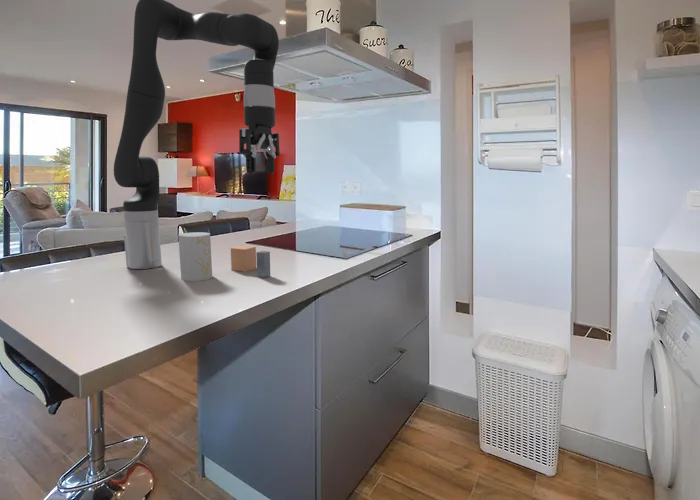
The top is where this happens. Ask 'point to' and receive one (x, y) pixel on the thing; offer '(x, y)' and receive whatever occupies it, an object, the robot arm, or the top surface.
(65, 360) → the top surface
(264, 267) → the post
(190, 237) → the white round cylinder
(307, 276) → the top surface
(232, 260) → the tan cardboard box
